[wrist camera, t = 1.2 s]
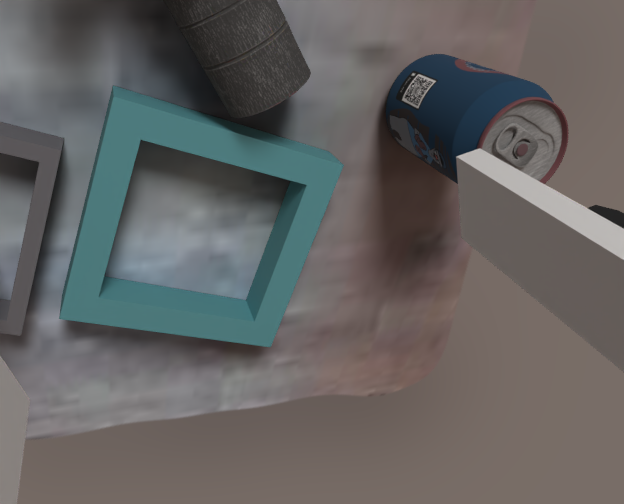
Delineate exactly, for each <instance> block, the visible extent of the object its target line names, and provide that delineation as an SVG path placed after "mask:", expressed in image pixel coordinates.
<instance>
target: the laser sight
mask: <svg viewBox="0 0 624 504" xmlns="http://www.w3.org/2000/svg"><path fill="white" fill-rule="evenodd" d="M164 2H165V3H166V5H167V7H168V9H169V10H170V12H171V14H172V15H173V17H174V19H175V21H176V23H177V25H178V26H179V27H180V30H181V32H182V33H183V35H184V37H185V38H186V40H187V41H188V43H189V45H190V47H191V48H192V50H193V52H194V53H195V55H196V57H197V59H198V61H199V63H200V65H201V66H202V67H203V70H204V71H205V73H206V75H207V76H208V78H209V79H210V81H211V83H212V85H213V86H214V88H215V90H216V91H217V93H218V95H219V97H220V99H221V100H222V102H223V104H224V105H225V107H226V109H227V111H228V113H229V115H230V116H231V117H234V118H243V117H248V116H252V115H255V114H258V113H260V112H263V111H265V110H267V109H270V108H272V107H274V106H275V105H277V104H279V103H281V102H282V101H284V100H286V99H287V98H289V97H290V96H291V95H293V94H294V93H295V92H297V91H298V90H299V89H300V88H301V87H302V86H303V85H304V84H305V83H306V82H307V80H308V79H309V77H310V74H311V72H310V69H309V68H308V66H307V64H306V62H305V60H304V58H303V55H302V53H301V51H300V49H299V47H298V45H297V43H296V41H295V39H294V36H293V34H292V32H291V30H290V27H289V25H288V22H287V21H286V20H285V16H284V14H283V12H282V10H281V8H280V6H279V4H278V2H277V0H164Z"/></svg>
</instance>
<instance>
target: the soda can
mask: <svg viewBox="0 0 624 504" xmlns="http://www.w3.org/2000/svg"><path fill="white" fill-rule="evenodd" d="M386 119H387V124H388V128H389V130H390V133H391V134H392V136H393V138H394V139H395V140H396V142H397V143H398V144H399V145H401V146H402V147H403V148H405V149H406V150H408V151H409V152H411V153H412V154H414V155H415V156H417V157H418V158H420V159H421V160H423V161H424V162H426V163H427V164H429V165H430V166H432V167H433V168H435V169H436V170H438V171H439V172H441V173H442V174H444V175H445V176H447V177H448V178H450V179H451V180H453V181H454V182H456V183H457V184H458V178H457V162H456V156H459V155H462V154H465V153H468V152H471V151H474V150H476V149H479V148H480V149H482V150H484V151H486V152H487V153H489V154H491V155H493V156H495V157H496V158H498V159H500V160H502V161H503V162H505V163H507V164H509V165H511V166H512V167H514V168H516V169H518V170H520V171H521V172H523V173H525V174H527V175H529V176H530V177H532V178H534V179H536V180H537V181H539V182H541V183H543V184H545V183H546V182H547V181H548V180H549V179H550V178H551V177H552V175H553V174H554V173H555V171H556V170H557V168H558V167H559V165H560V163H561V161H562V159H563V157H564V154H565V151H566V147H567V143H568V124H567V120H566V117H565V115H564V113H563V112H562V110H561V109H560V108H559V107H558V106H557V105H556V104H554V102H553V101H552V98H551V97H550V96H549V94H548V93H547V92H546V91H545V90H544V89H543V88H541V87H540V86H539V85H537V84H535V83H532V82H530V81H527V80H523V79H520V78H517V77H514V76H511V75H508V74H505V73H502V72H499V71H495V70H492V69H489V68H486V67H483V66H480V65H477V64H474V63H471V62H467V61H464V60H461V59H458V58H455V57H452V56H449V55H444V54H434V55H428V56H425V57H422V58H420V59H418V60H416V61H414V62H413V63H411V64H410V65H409V66H407V67H406V68H405V69H404V70H403V71H402V72H401V73H400V74H399V76H398V77H397V78H396V80H395V82H394V83H393V85H392V87H391V89H390V92H389V95H388V99H387V104H386Z"/></svg>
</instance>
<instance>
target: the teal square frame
mask: <svg viewBox="0 0 624 504" xmlns="http://www.w3.org/2000/svg"><path fill="white" fill-rule="evenodd" d="M140 140H144V141H147V142H151V143H155V144H158V145H162V146H166V147H169V148H173V149H177V150H180V151H184V152H188V153H191V154H195V155H199V156H202V157H206V158H210V159H213V160H217V161H221V162H224V163H228V164H232V165H235V166H239V167H243V168H246V169H250V170H254V171H257V172H261V173H265V174H268V175H272V176H276V177H279V178H283V179H287V180H290V183H289V186H288V189H287V192H286V194H285V197H284V200H283V202H282V205H281V208H280V210H279V213H278V216H277V218H276V221H275V224H274V227H273V229H272V232H271V235H270V237H269V240H268V243H267V245H266V248H265V251H264V253H263V256H262V259H261V262H260V264H259V267H258V270H257V272H256V275H255V278H254V280H253V283H252V286H251V288H250V291H249V294H248V297H247V299H246V300H241V299H235V298H229V297H223V296H217V295H211V294H205V293H199V292H193V291H187V290H181V289H175V288H169V287H163V286H157V285H151V284H146V283H140V282H134V281H128V280H122V279H116V278H110V277H104V275H105V271H106V267H107V264H108V260H109V256H110V252H111V249H112V245H113V241H114V238H115V234H116V230H117V226H118V223H119V219H120V215H121V211H122V208H123V204H124V200H125V196H126V193H127V189H128V185H129V182H130V178H131V174H132V170H133V167H134V163H135V159H136V155H137V152H138V148H139V144H140ZM343 166H344V165H343V164H342V163H341V162H340V161H339V160H338V159H336V158H335V157H334V156H333V155H332V154H331V153H330V152H328V151H325V150H322V149H319V148H315V147H312V146H309V145H306V144H302V143H299V142H296V141H292V140H289V139H286V138H283V137H279V136H276V135H273V134H270V133H266V132H263V131H260V130H257V129H253V128H250V127H247V126H244V125H240V124H237V123H234V122H230V121H227V120H224V119H221V118H217V117H214V116H211V115H208V114H204V113H201V112H198V111H195V110H191V109H188V108H185V107H182V106H178V105H175V104H172V103H169V102H165V101H162V100H159V99H155V98H152V97H149V96H146V95H142V94H139V93H136V92H133V91H129V90H126V89H123V88H120V87H116V86H113V87H112V91H111V96H110V100H109V104H108V108H107V112H106V116H105V120H104V125H103V129H102V133H101V137H100V141H99V145H98V149H97V153H96V158H95V162H94V166H93V170H92V174H91V178H90V182H89V186H88V191H87V195H86V199H85V203H84V207H83V211H82V215H81V220H80V224H79V228H78V232H77V236H76V240H75V244H74V248H73V253H72V257H71V261H70V265H69V269H68V273H67V277H66V281H65V286H64V290H63V294H62V301H61V309H60V317H59V319H64V320H71V321H79V322H86V323H93V324H101V325H108V326H116V327H123V328H131V329H138V330H146V331H153V332H161V333H168V334H176V335H183V336H190V337H198V338H205V339H213V340H220V341H228V342H235V343H243V344H250V345H258V346H265V347H271V345H272V342H273V340H274V337H275V335H276V332H277V330H278V327H279V325H280V322H281V320H282V317H283V315H284V312H285V310H286V308H287V305H288V303H289V300H290V298H291V295H292V293H293V290H294V288H295V285H296V283H297V280H298V278H299V275H300V273H301V270H302V268H303V265H304V263H305V260H306V258H307V255H308V253H309V250H310V248H311V245H312V243H313V240H314V238H315V235H316V233H317V230H318V228H319V225H320V223H321V220H322V218H323V215H324V213H325V210H326V208H327V205H328V203H329V200H330V198H331V195H332V193H333V190H334V188H335V186H336V183H337V181H338V178H339V176H340V173H341V171H342V168H343Z"/></svg>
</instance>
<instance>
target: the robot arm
mask: <svg viewBox="0 0 624 504" xmlns="http://www.w3.org/2000/svg"><path fill="white" fill-rule="evenodd" d="M456 162H457V178H458V193H459V208H460V223H461V238H462V239H463V240H464V241H466V242H467V243H468V244H469V245H470V246H472V247H473V248H474V249H476V250H477V251H478V252H479V253H481V255H483V256H484V257H485V258H487V260H489V261H490V262H491V263H492V264H493V265H495V266H496V267H497V268H498V269H500V270H501V271H502V272H503V273H505V274H506V275H507V276H508V277H509V278H511V279H512V280H513V281H514V282H515V283H516V284H518V285H519V286H520V287H521V288H522V289H524V290H525V291H526V292H527V293H529V294H530V295H531V296H532V297H534V298H535V299H536V300H537V301H538V302H540V303H541V304H542V305H543V306H544V307H546V308H547V309H548V310H549V311H550V312H551V313H553V314H554V315H555V316H556V317H558V318H559V319H560V320H561V321H562V322H564V323H565V324H566V325H567V326H568V327H570V328H571V329H572V330H573V331H575V332H576V333H577V334H578V335H579V336H581V337H582V338H583V339H584V340H585V341H587V342H588V343H589V344H590V345H591V346H593V347H594V348H595V349H597V351H599V352H600V353H601V354H602V355H603V356H605V357H606V358H607V359H608V360H610V361H611V362H612V363H613V364H614V365H616V366H617V367H618V368H619V369H620V370H622V371H623V372H624V213H622V212H620V211H618V210H614V209H609V208H606V207H602V206H598V205H594V206H592V207H589V208H586V207H584V206H582V205H580V204H579V203H577V202H575V201H573V200H571V199H570V198H568V197H566V196H564V195H563V194H561V193H559V192H557V191H555V190H554V189H552V188H550V187H548V186H546V185H545V184H543V183H541V182H539V181H537V180H536V179H534V178H532V177H530V176H529V175H527V174H525V173H523V172H521V171H520V170H518V169H516V168H514V167H512V166H511V165H509V164H507V163H505V162H503V161H502V160H500V159H498V158H496V157H495V156H493V155H491V154H489V153H487V152H486V151H484V150H482V149H480V148H479V149H476V150H474V151H471V152H468V153H465V154H462V155H459V156H456ZM29 403H30V399H29V397H28V396H27V394H26V393H25V392H24V390H23V389H22V387H21V386H20V384H19V383H18V381H17V380H16V378H15V377H14V375H13V374H12V372H11V371H10V369H9V368H8V366H7V365H6V363H5V362H4V360H3V359H2V357H1V356H0V504H17V500H18V492H19V484H20V475H21V467H22V458H23V451H24V443H25V435H26V427H27V419H28V411H29Z"/></svg>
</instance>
